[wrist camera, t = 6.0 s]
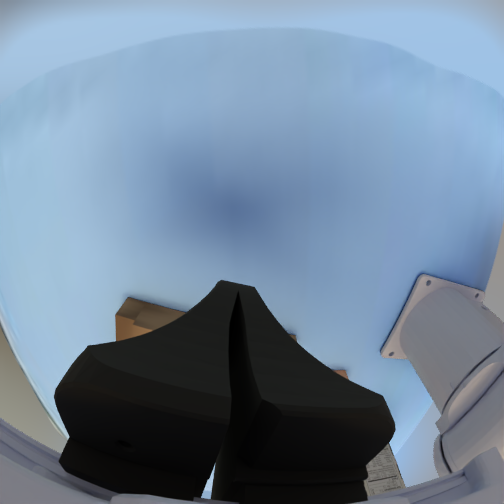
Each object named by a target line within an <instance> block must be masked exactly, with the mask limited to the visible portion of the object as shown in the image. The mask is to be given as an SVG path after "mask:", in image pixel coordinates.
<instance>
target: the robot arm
mask: <svg viewBox="0 0 504 504" xmlns="http://www.w3.org/2000/svg"><path fill="white" fill-rule="evenodd" d="M428 280H429V281H428ZM427 281H428V283H426V282H427ZM484 298H485V292H483V291H481V290H478V289H474V288H471V287H468V286H464V285H461V284H457V283H454V282H450V281H447V280H443V279H440V278H436V277H433V276H429V275H426V274H422V275H420V276H419V277H418V279H417V281H416V284H415V286H414V288H413V290H412V292H411V295H410V297H409V299H408V301H407V303H406V305H405V307H404V309H403V311H402V313H401V315H400V317H399V319H398V321H397V323H396V325H395V327H394V329H393V330H392V332H391V334H390V336H389V338H388V340H387V341H386V343H385V345H384V347H383V348H382V350H381V356H382V357H384V358H395V359H408V360H409V361H410V363H411V364H412V366H413V368H414V369H415V371H416V373H417V374H418V376H419V378H420V379H421V381H422V383H423V384H424V386H425V388H426V389H427V391H428V393H429V394H430V396H431V398H432V400H433V401H434V403H435V405H436V407H437V408H438V410H439V412H440V414H441V417H440V419H439V420H438V421H437V422H436V425H437V428H438V429H439V431H440V434H439V435H438V436H437V438H436V440H435V442H434V450H433V452H434V464H435V467H436V470H437V473H438V475H439V478H437V479H434V480H431V481H428V482H424V483H421V484H418V485H414V486H411V487H407V488H404V489H400V490H396V491H391V492H387V493H383V494H378V495H373V496H367V494H366V490H365V486H364V482H363V480H366V479H367V478H368V471H367V468H366V465H367V464H368V463H369V462H370V461H371V460H372V459H373V458H375V457H376V456H377V455H378V454H379V453H380V452H381V451H382V450H383V449H384V448H385V447H386V445H387V444H388V443H389V442H390V440H391V439H392V437H393V435H394V432H395V422H394V420H393V417H392V415H391V413H390V411H389V408H388V406H387V404H386V401H385V399H384V397H383V396H382V395H380V394H378V393H375V392H373V391H371V390H369V389H366V388H364V387H362V386H360V385H358V384H356V383H354V382H352V381H350V380H348V379H346V378H345V377H343V376H341V375H340V374H338V373H336V372H335V371H333V370H331V369H330V368H328V367H327V366H325V365H324V364H323V363H321V362H320V361H319V360H317V359H316V358H315V357H313V356H312V355H311V354H310V353H308V352H307V351H306V350H305V349H304V348H303V347H301V346H300V345H299V344H298V343H297V342H296V341H295V340H294V339H293V338H292V337H291V336H290V335H289V334H288V333H287V332H286V331H285V329H284V328H283V327H282V326H281V325H280V323H279V322H278V321H277V320H276V318H275V317H274V316H273V315H272V313H271V312H270V310H269V309H268V308H267V306H266V305H265V303H264V301H263V300H262V298H261V297H260V295H259V293H258V292H257V290H256V289H255V287H252V286H247V285H243V284H238V283H233V282H229V281H224V280H220V281H219V282H218V283H217V284H216V286H215V287H214V288H213V289H212V290H211V292H210V293H209V294H208V295H207V296H206V297H205V298H203V299H202V300H201V301H200V302H199V303H198V304H197V305H195V306H194V307H193V308H192V309H190V310H189V311H188V312H186V313H185V314H183V315H182V316H180V317H179V318H177V319H176V320H174V321H172V322H170V323H169V324H167V325H164V326H162V327H160V328H158V329H155V330H153V331H151V332H148V333H145V334H142V335H139V336H136V337H132V338H128V339H125V340H120V341H115V342H109V343H103V344H97V345H89V346H87V348H86V349H85V350H84V351H83V352H82V353H81V354H80V355H79V356H78V357H77V359H76V360H75V361H74V363H73V364H72V365H71V367H70V368H69V369H68V371H67V372H66V374H65V375H64V377H63V379H62V380H61V382H60V383H59V385H58V386H57V388H56V390H55V394H54V399H55V403H56V407H57V410H58V412H59V414H60V417H61V419H62V421H63V423H64V426H65V428H66V430H67V432H68V434H69V436H70V437H69V439H68V441H67V443H66V446H65V448H64V450H63V452H62V454H61V453H59V452H57V451H55V450H53V449H51V448H49V447H47V446H45V445H43V444H41V443H40V442H38V441H36V440H34V439H33V438H31V437H29V436H28V435H26V434H24V433H23V432H21V431H19V430H18V429H16V428H15V427H13V426H12V425H10V424H9V423H7V422H6V421H4V420H3V419H1V418H0V504H504V323H503V322H502V321H501V320H500V319H499V318H498V317H497V316H496V315H495V314H494V313H493V312H491V311H490V310H489V309H488V308H487V307H486V306H485V305H483V304H482V302H483V300H484ZM390 352H391V353H390ZM215 462H216V464H215ZM214 465H215V471H214V479H213V486H212V494H211V499H204V498H201V496H202V493H203V491H204V488H205V485H206V483H207V480H208V479H209V478H210V476H211V473H212V470H213V468H214Z"/></svg>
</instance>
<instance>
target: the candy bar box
mask: <svg viewBox="0 0 504 504" xmlns="http://www.w3.org/2000/svg"><path fill="white" fill-rule="evenodd" d="M366 468H367V471H368V478H367V479H366V480H363V482H364V486H365V490H366V494H367V496H373V495H378V494H383V493H387V492H391V491H396V490H400V489H404V488H406V487H405V484H404V481H403V479H402V477H401V474H400V471H399V468H398V465H397V462H396V460H395V457H394V455H393V452H392V450H391V447H390V444H389V443H388V444H387V445H386V447H385V448H384V449H383V450H382V451H381V452H380V453H379V454H378V455H377V456H376V457H375V458H373V459H372V460H371V461H370V462H369V463H368V464H367V465H366Z"/></svg>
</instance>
